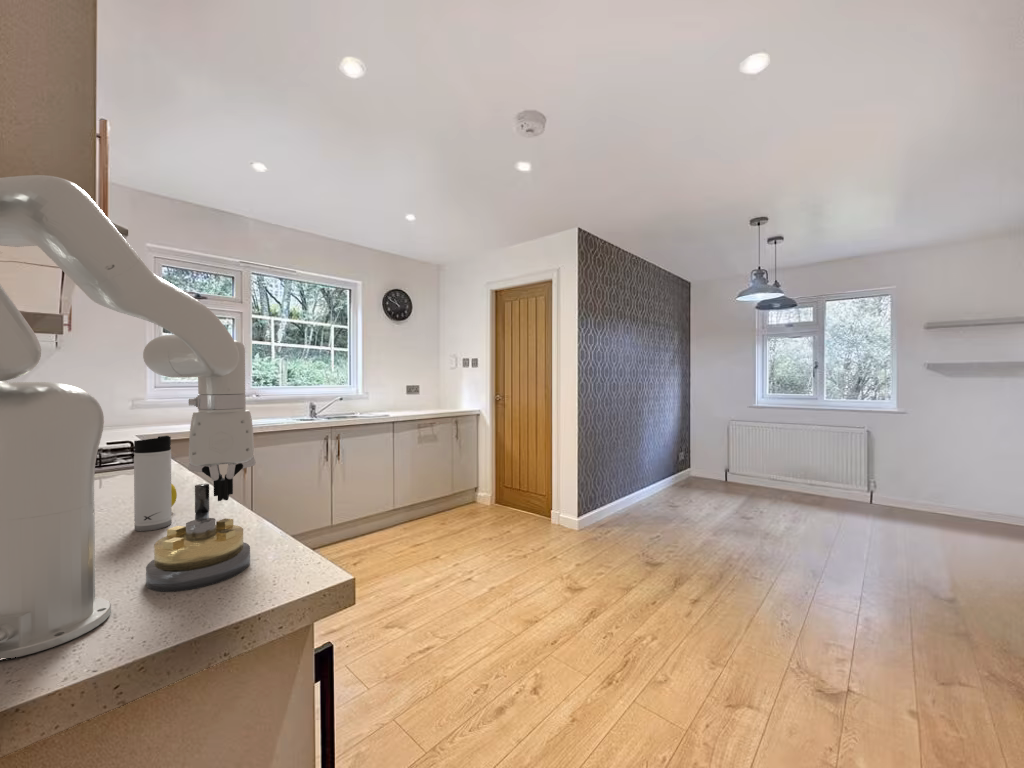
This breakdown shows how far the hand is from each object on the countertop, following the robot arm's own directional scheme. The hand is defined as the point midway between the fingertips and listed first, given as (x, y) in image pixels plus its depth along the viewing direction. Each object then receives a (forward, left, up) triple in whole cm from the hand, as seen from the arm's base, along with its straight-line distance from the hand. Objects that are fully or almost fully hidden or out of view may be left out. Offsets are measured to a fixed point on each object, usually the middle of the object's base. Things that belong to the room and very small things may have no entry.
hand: (223, 498), depth 82 cm
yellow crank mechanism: (-8, -1, -6) cm, 11 cm away
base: (-11, -3, -9) cm, 15 cm away
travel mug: (+12, +23, -9) cm, 28 cm away
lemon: (+22, +29, -9) cm, 38 cm away
